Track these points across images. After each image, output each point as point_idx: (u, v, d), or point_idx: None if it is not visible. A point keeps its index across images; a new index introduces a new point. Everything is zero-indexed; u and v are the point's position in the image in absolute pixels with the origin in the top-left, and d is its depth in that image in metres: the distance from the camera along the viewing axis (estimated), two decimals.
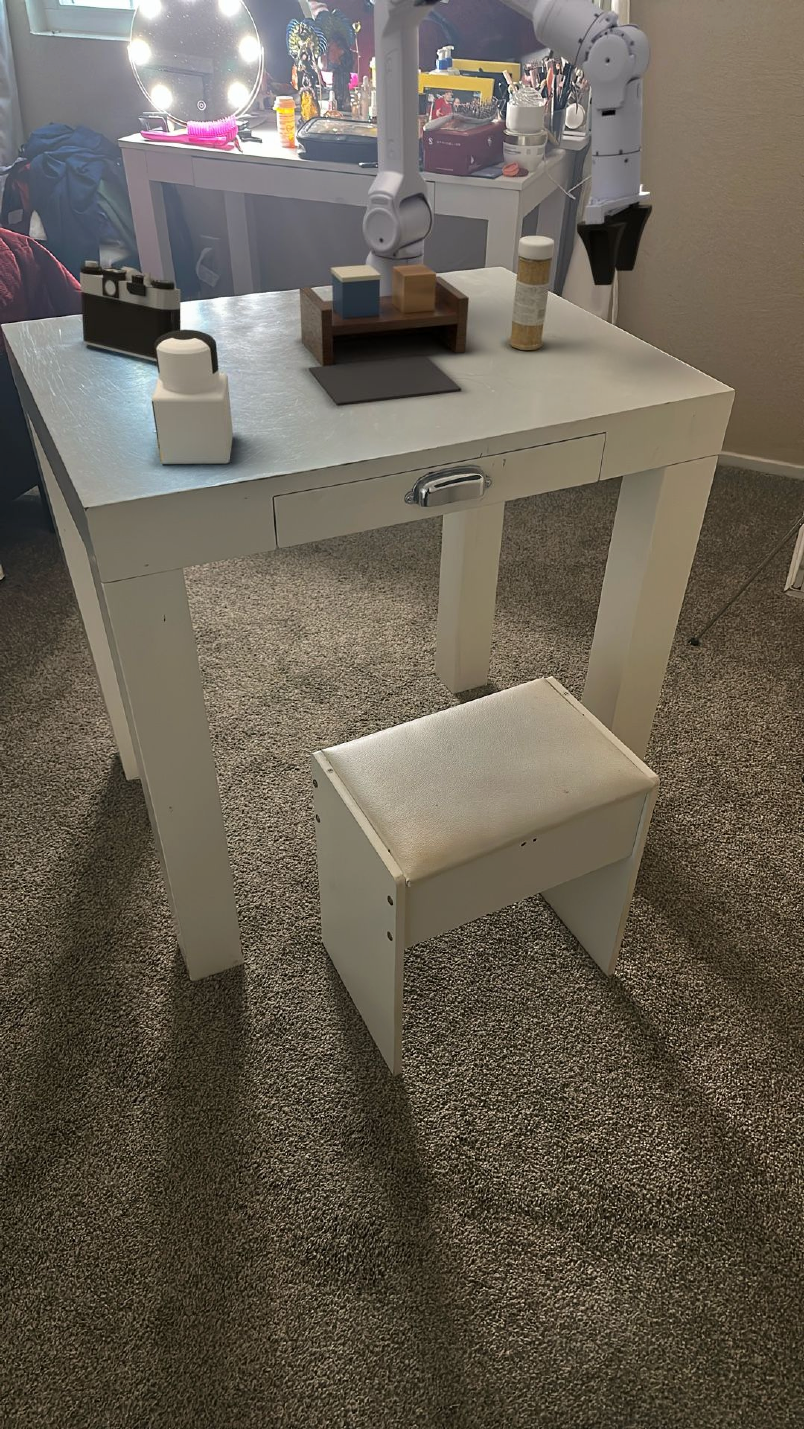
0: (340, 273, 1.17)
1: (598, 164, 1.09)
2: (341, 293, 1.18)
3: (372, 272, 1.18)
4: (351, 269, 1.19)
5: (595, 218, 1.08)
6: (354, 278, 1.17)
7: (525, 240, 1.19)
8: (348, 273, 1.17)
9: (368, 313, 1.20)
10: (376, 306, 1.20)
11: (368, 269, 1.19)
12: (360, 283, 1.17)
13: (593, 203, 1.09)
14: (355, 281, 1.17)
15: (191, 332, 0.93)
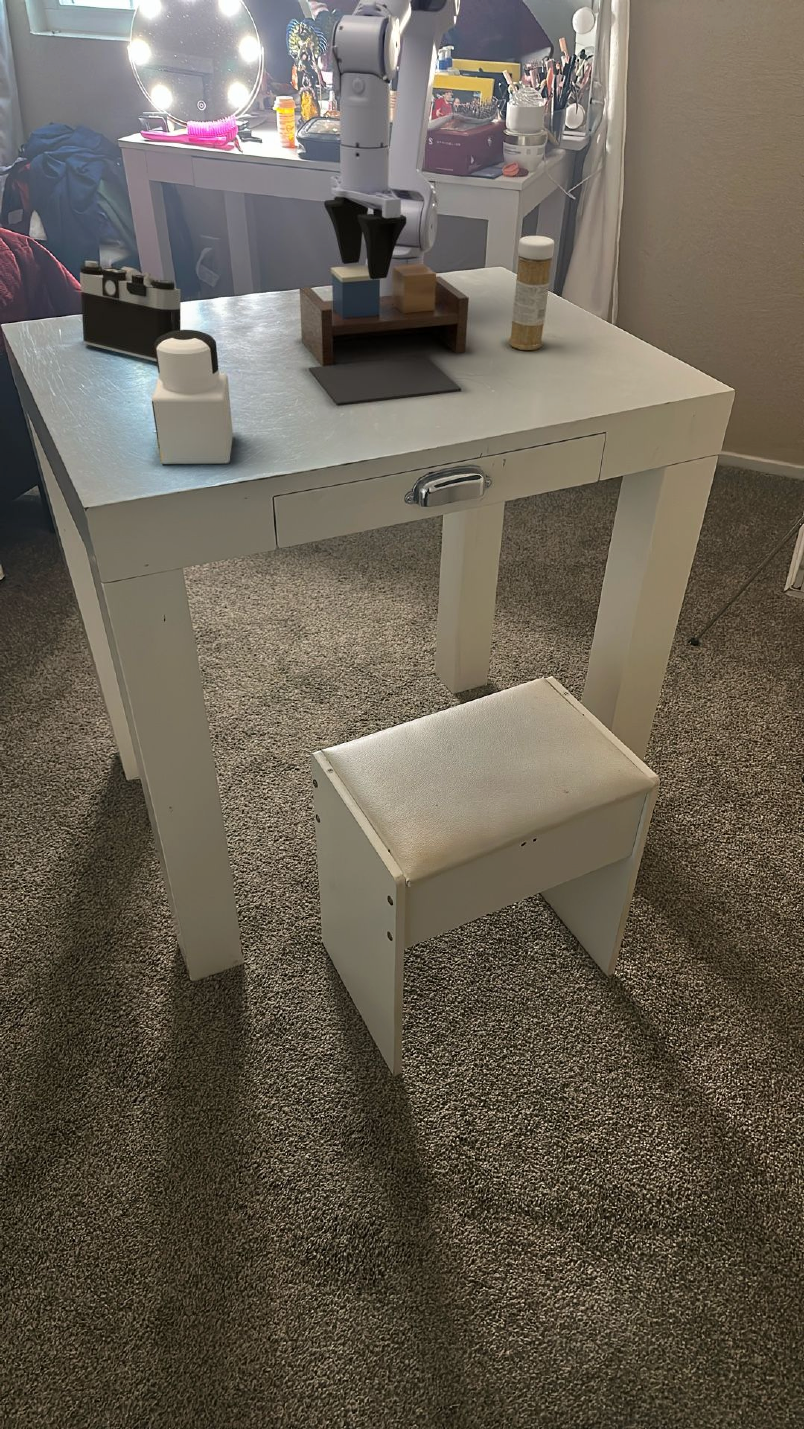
0: (340, 273, 1.17)
1: None
2: (341, 293, 1.18)
3: None
4: (351, 269, 1.19)
5: None
6: (354, 278, 1.17)
7: (525, 240, 1.19)
8: (348, 273, 1.17)
9: (368, 313, 1.20)
10: (376, 306, 1.20)
11: None
12: (360, 283, 1.17)
13: None
14: (355, 281, 1.17)
15: (191, 332, 0.93)
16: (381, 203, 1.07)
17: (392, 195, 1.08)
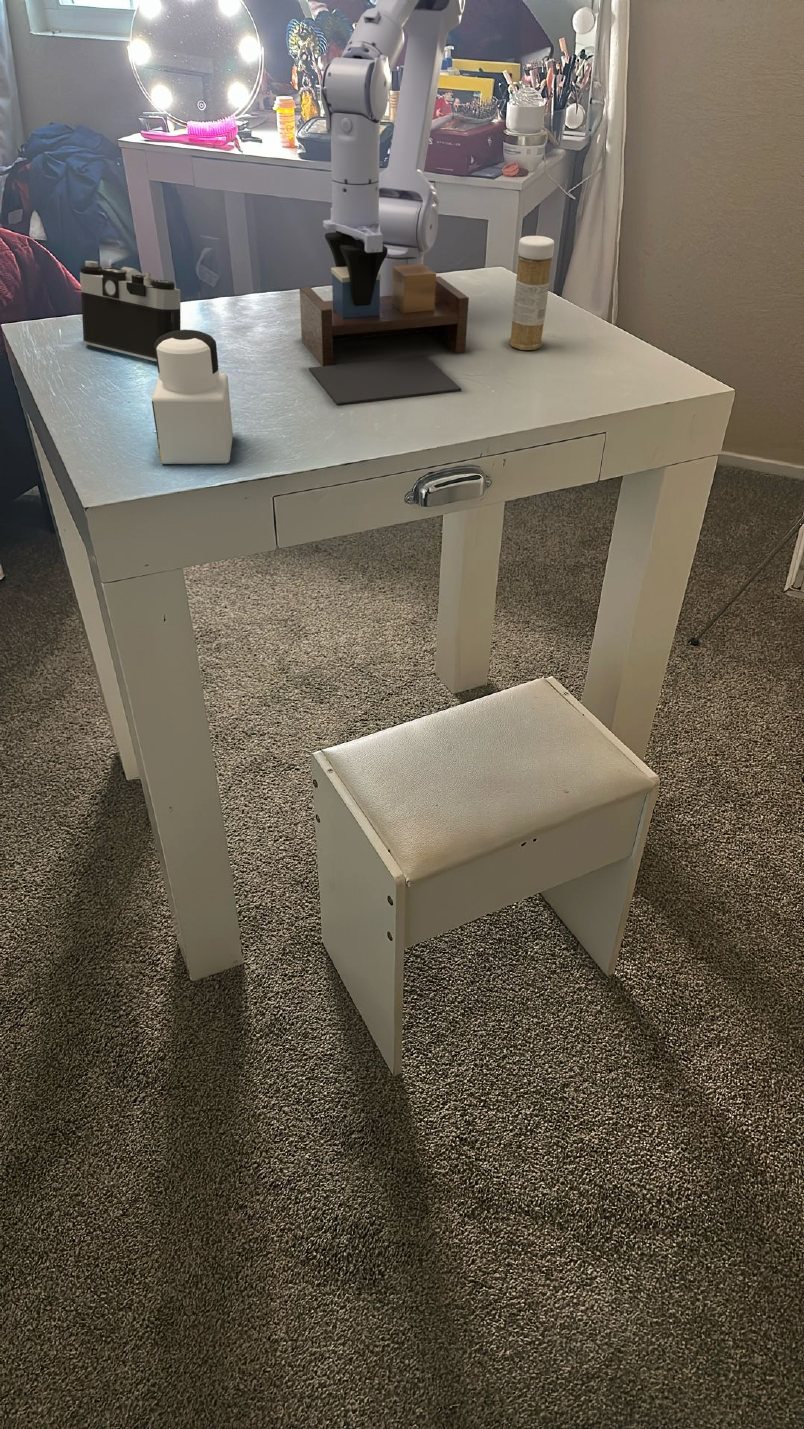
0: (341, 273, 1.17)
1: None
2: (341, 293, 1.18)
3: None
4: None
5: None
6: None
7: (525, 240, 1.19)
8: (348, 273, 1.17)
9: (368, 313, 1.20)
10: (376, 306, 1.20)
11: None
12: None
13: None
14: None
15: (191, 332, 0.93)
16: (363, 238, 1.10)
17: (377, 230, 1.11)
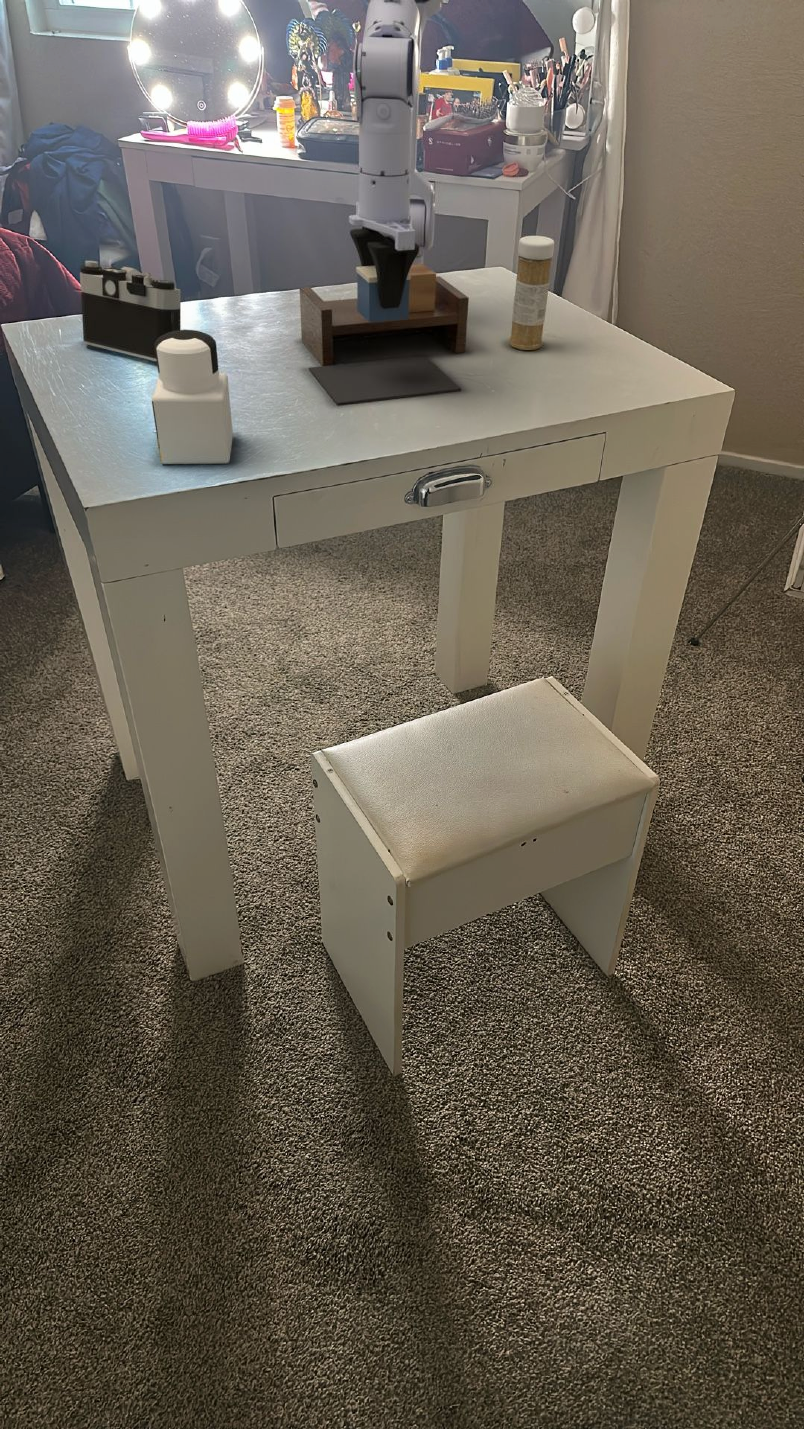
0: (367, 273, 1.08)
1: None
2: (367, 294, 1.08)
3: None
4: None
5: None
6: None
7: (525, 240, 1.19)
8: (375, 273, 1.08)
9: (396, 316, 1.11)
10: (405, 309, 1.11)
11: None
12: None
13: None
14: None
15: (191, 332, 0.93)
16: (394, 234, 1.01)
17: (408, 226, 1.02)
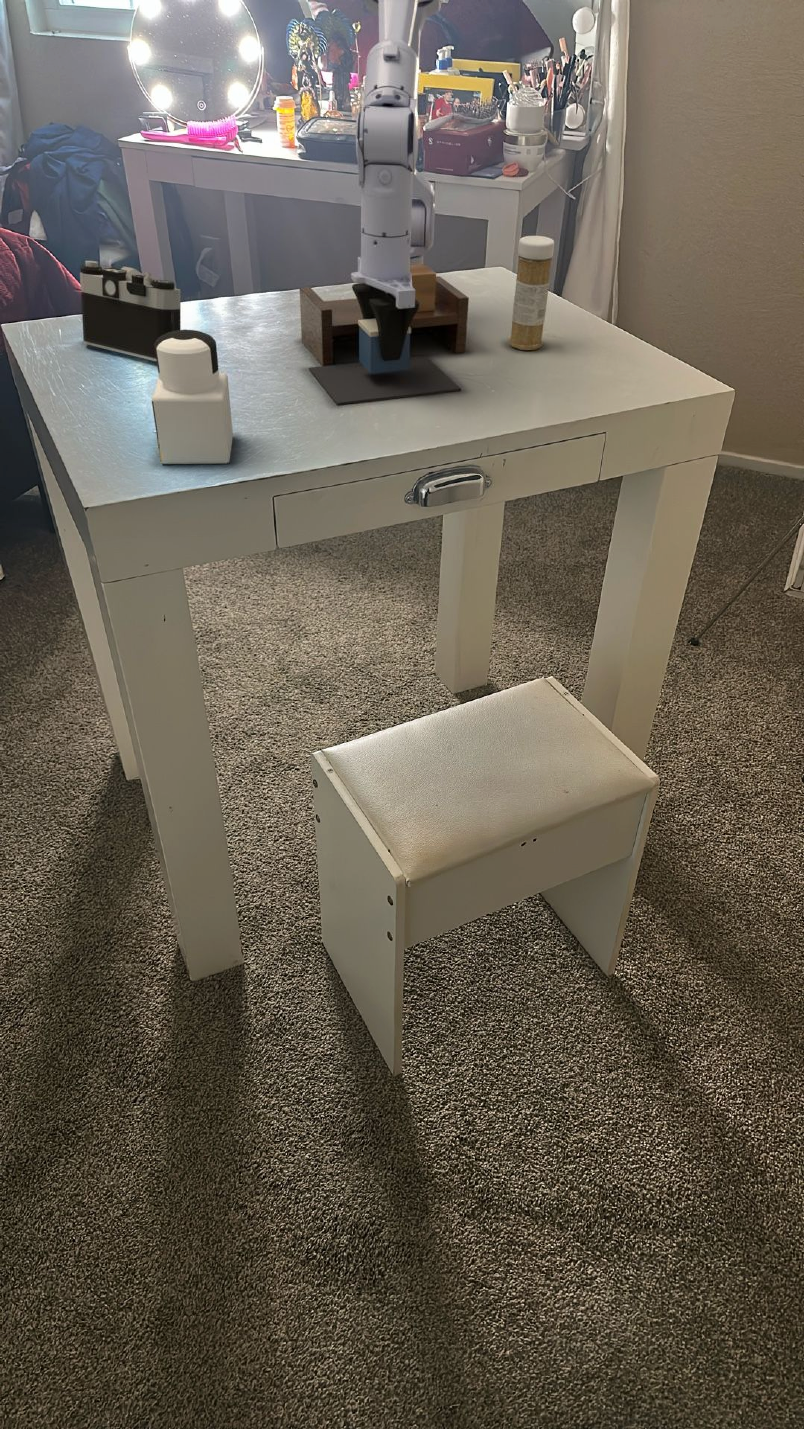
0: (369, 327, 1.11)
1: None
2: (369, 347, 1.12)
3: None
4: None
5: None
6: None
7: (525, 240, 1.19)
8: (377, 327, 1.11)
9: (397, 368, 1.14)
10: (405, 360, 1.14)
11: None
12: None
13: None
14: None
15: (191, 332, 0.93)
16: (395, 293, 1.04)
17: (409, 284, 1.06)
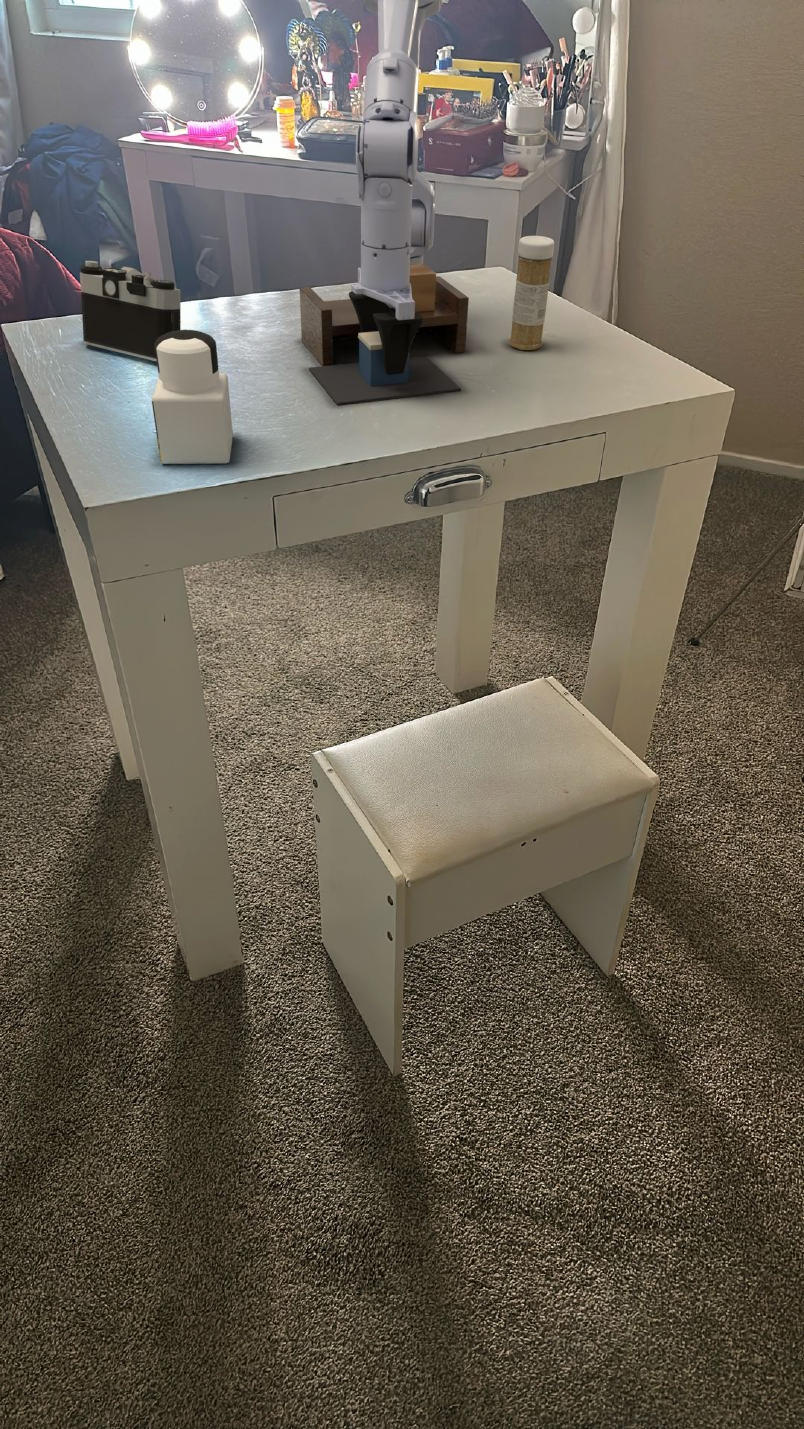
0: (369, 340, 1.12)
1: None
2: (369, 360, 1.13)
3: None
4: (379, 335, 1.14)
5: None
6: None
7: (525, 240, 1.19)
8: (376, 340, 1.12)
9: (396, 380, 1.15)
10: (405, 373, 1.15)
11: None
12: None
13: None
14: None
15: (191, 332, 0.93)
16: (395, 305, 1.05)
17: (408, 295, 1.07)
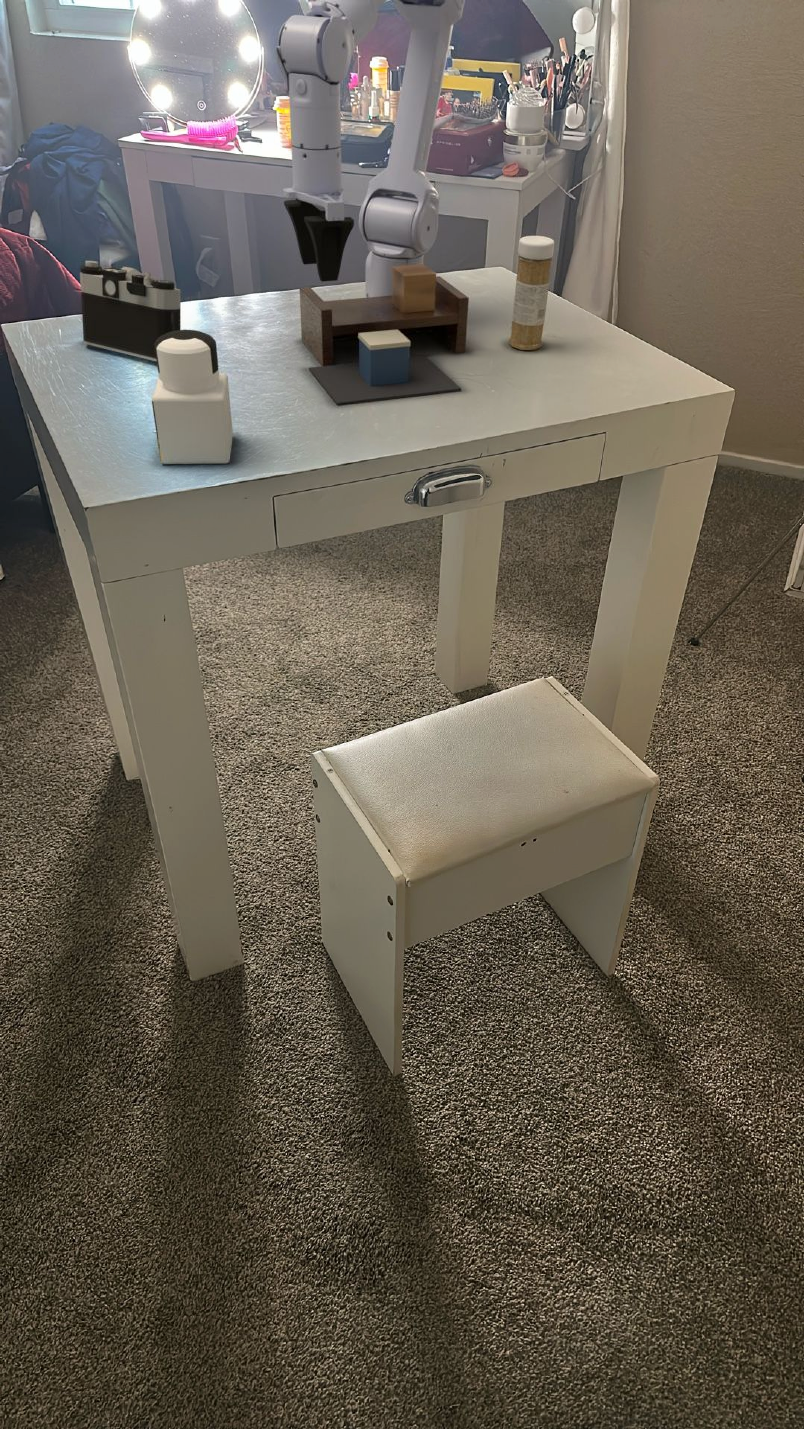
0: (369, 340, 1.12)
1: None
2: (369, 360, 1.13)
3: (401, 338, 1.13)
4: (379, 335, 1.14)
5: None
6: (383, 346, 1.12)
7: (525, 240, 1.19)
8: (376, 340, 1.12)
9: (396, 380, 1.15)
10: (405, 373, 1.15)
11: (397, 335, 1.14)
12: (389, 351, 1.12)
13: None
14: (384, 348, 1.12)
15: (191, 331, 0.93)
16: (324, 205, 1.06)
17: (339, 197, 1.07)
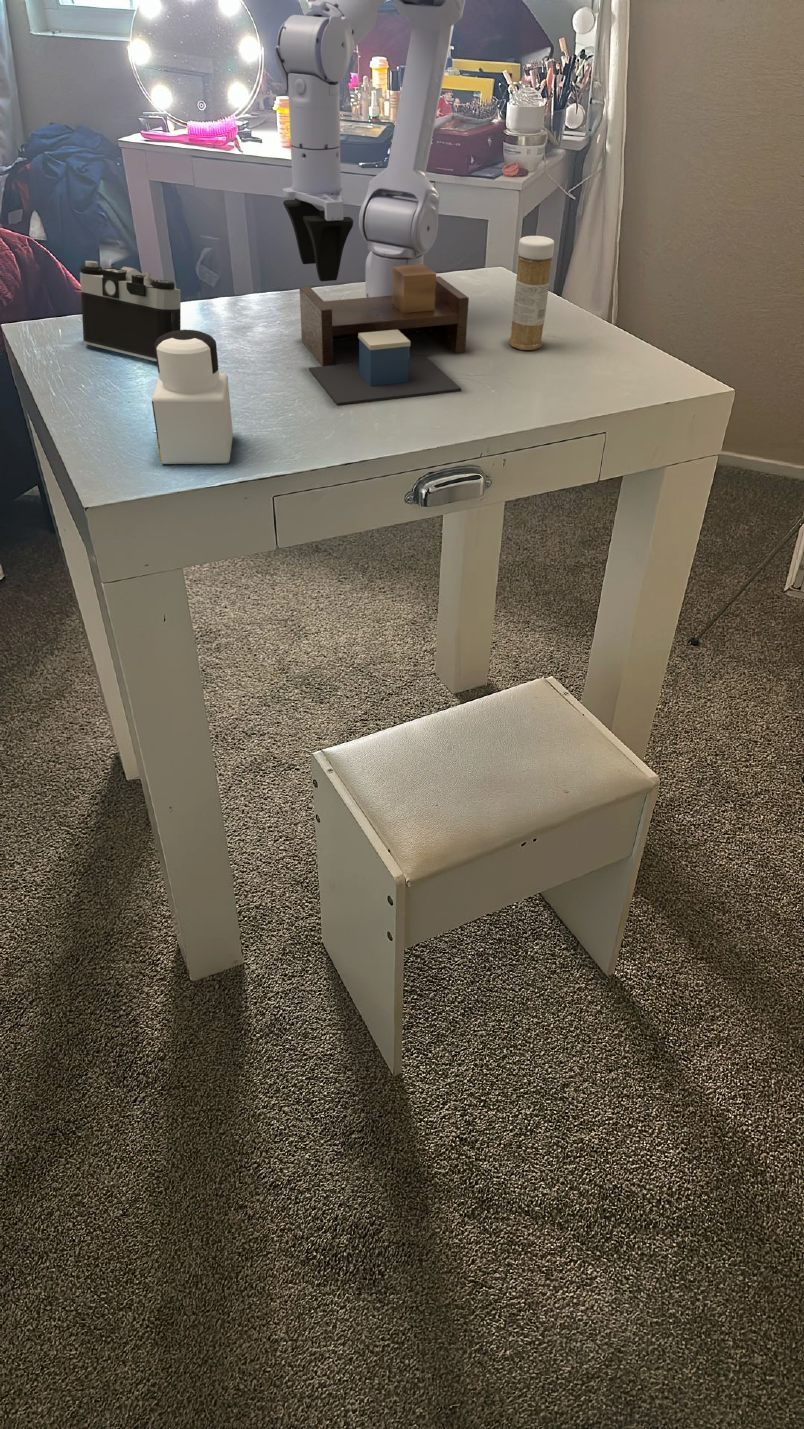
0: (369, 340, 1.12)
1: None
2: (369, 360, 1.13)
3: (401, 338, 1.13)
4: (379, 335, 1.14)
5: None
6: (383, 346, 1.12)
7: (525, 240, 1.19)
8: (376, 340, 1.12)
9: (396, 380, 1.15)
10: (405, 373, 1.15)
11: (397, 335, 1.14)
12: (389, 351, 1.12)
13: None
14: (384, 348, 1.12)
15: (191, 332, 0.93)
16: (323, 205, 1.06)
17: (338, 197, 1.07)
